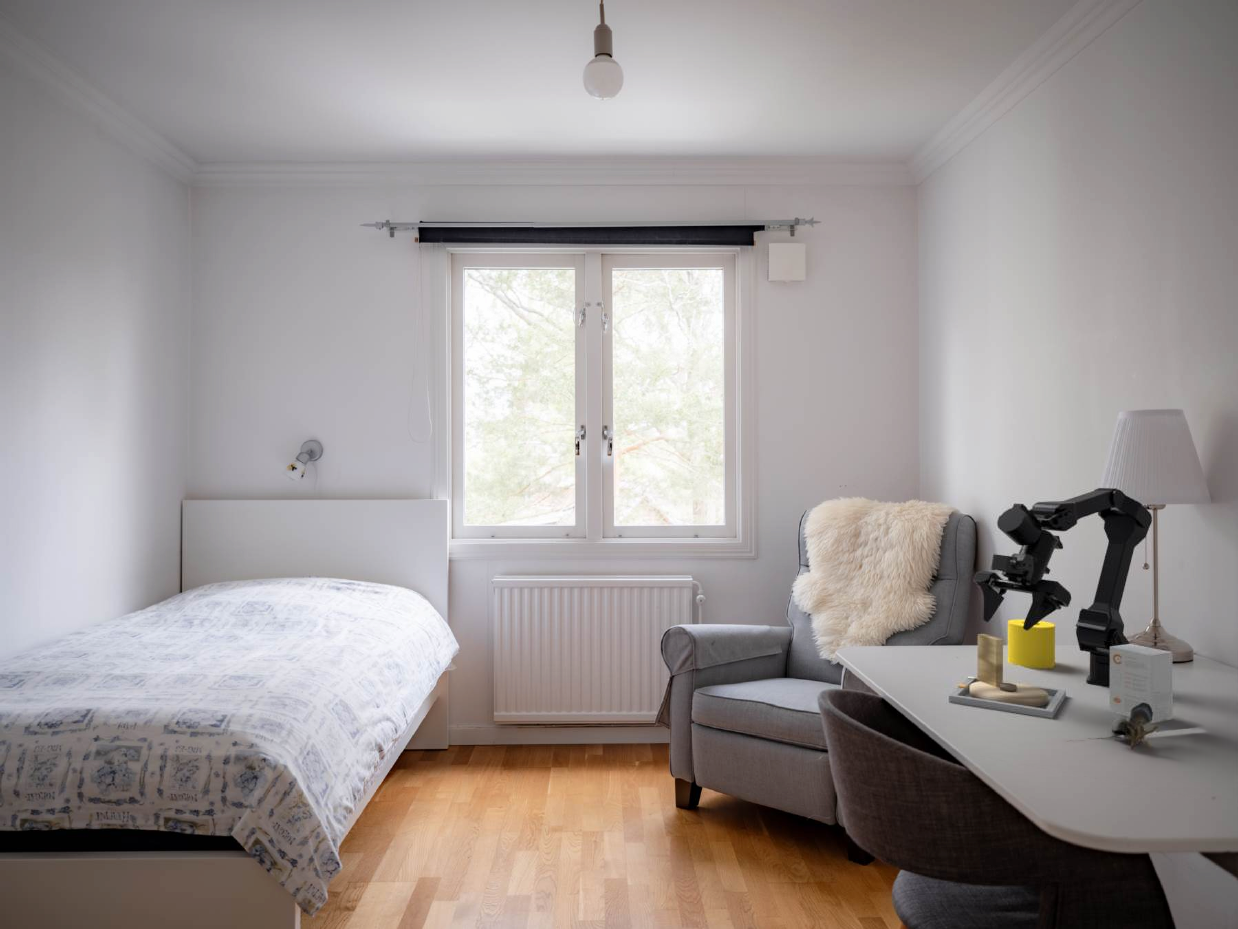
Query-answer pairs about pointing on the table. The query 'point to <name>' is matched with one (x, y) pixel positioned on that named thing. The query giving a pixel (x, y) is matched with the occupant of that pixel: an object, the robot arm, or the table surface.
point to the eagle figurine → (1135, 724)
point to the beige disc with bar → (1001, 678)
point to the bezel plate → (1048, 711)
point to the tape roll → (1031, 644)
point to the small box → (1141, 680)
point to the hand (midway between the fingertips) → (1004, 625)
